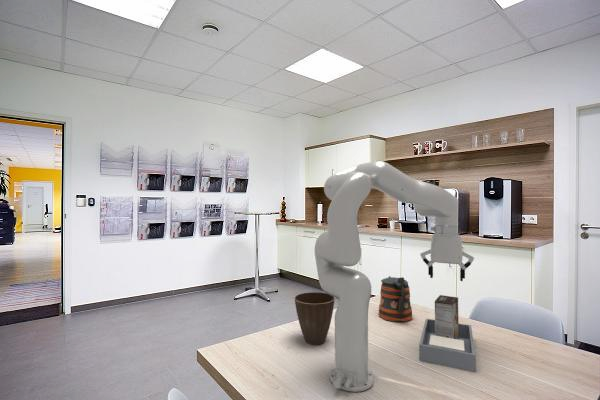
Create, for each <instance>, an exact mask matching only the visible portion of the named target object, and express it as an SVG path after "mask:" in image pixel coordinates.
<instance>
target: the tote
mask: <svg viewBox="0 0 600 400" xmlns="http://www.w3.org/2000/svg"><path fill="white" fill-rule="evenodd" d="M458 323H459V340H464V351H465V352H461V351H456V350H450V349H445V348H440V347H434V346H429V342H430V337H431V335H435V319H431V318H425V320H424V324H423V328H422V332H421V336H420V339H419V344H418V349H419V352H418V356H419V358H418V359H419V362H424V363H428V364H434V365H437V366H442V367H448V368H452V369H457V370H461V371H466V372H470V373H476V369H477V368H476V351H475V344H474V343H475V342H474V336H473V330H472V324H465V323H460V322H458Z"/></svg>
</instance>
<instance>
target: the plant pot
mask: <svg viewBox="0 0 600 400" xmlns="http://www.w3.org/2000/svg"><path fill="white" fill-rule="evenodd" d="M335 299H336V298H335V297H333V296H331V295H329V294H327V293H326V292H318V291H315V292H314V291H312V292H311V291H310V292H303V293H299V294H297V295H295V297H294V305H295V310H296V315H297V320H298V324H299V326H300V330H301V332H302V336H303V338H304V341H305V343H306V344H309V345H313V346H314V345H315V346H316V345H317V346H318V345H322V344H324V343H325V342H326V339H327V336H328V334H329V330H330V327H331V323H332V319H333V318H332V317H333V313H334V308H335V307H334V306H335Z"/></svg>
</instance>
